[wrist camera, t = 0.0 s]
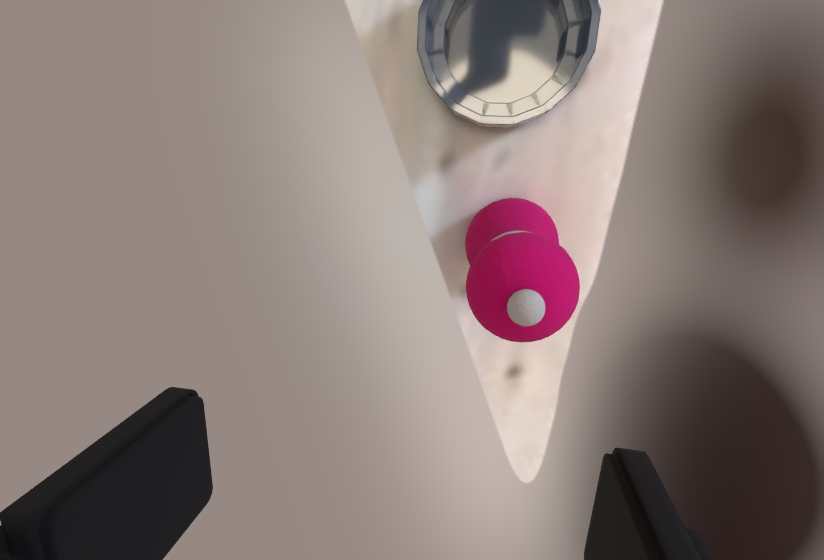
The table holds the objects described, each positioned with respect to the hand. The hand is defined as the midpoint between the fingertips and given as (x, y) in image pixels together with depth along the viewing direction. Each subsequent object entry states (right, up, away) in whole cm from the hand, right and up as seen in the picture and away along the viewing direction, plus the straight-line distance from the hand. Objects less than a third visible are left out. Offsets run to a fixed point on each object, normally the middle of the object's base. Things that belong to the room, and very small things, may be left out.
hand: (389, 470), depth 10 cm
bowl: (+8, +23, +25) cm, 35 cm away
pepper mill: (+9, +8, +29) cm, 32 cm away
